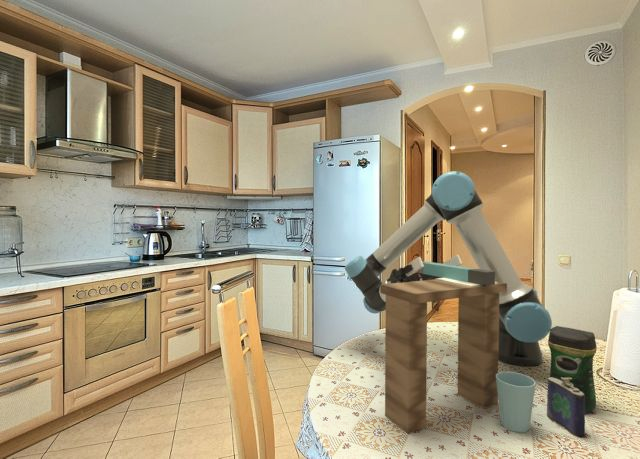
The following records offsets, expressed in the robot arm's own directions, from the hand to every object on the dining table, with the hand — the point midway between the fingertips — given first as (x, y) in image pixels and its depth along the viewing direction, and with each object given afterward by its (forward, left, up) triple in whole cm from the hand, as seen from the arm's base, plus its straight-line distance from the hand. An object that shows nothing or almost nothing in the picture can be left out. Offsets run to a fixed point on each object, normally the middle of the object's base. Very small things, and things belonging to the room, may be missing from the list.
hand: (441, 260), depth 96 cm
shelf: (+7, +8, -34) cm, 36 cm away
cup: (-2, +20, -35) cm, 40 cm away
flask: (-12, +25, -35) cm, 44 cm away
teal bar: (0, +4, -4) cm, 6 cm away
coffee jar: (-23, +20, -35) cm, 46 cm away
